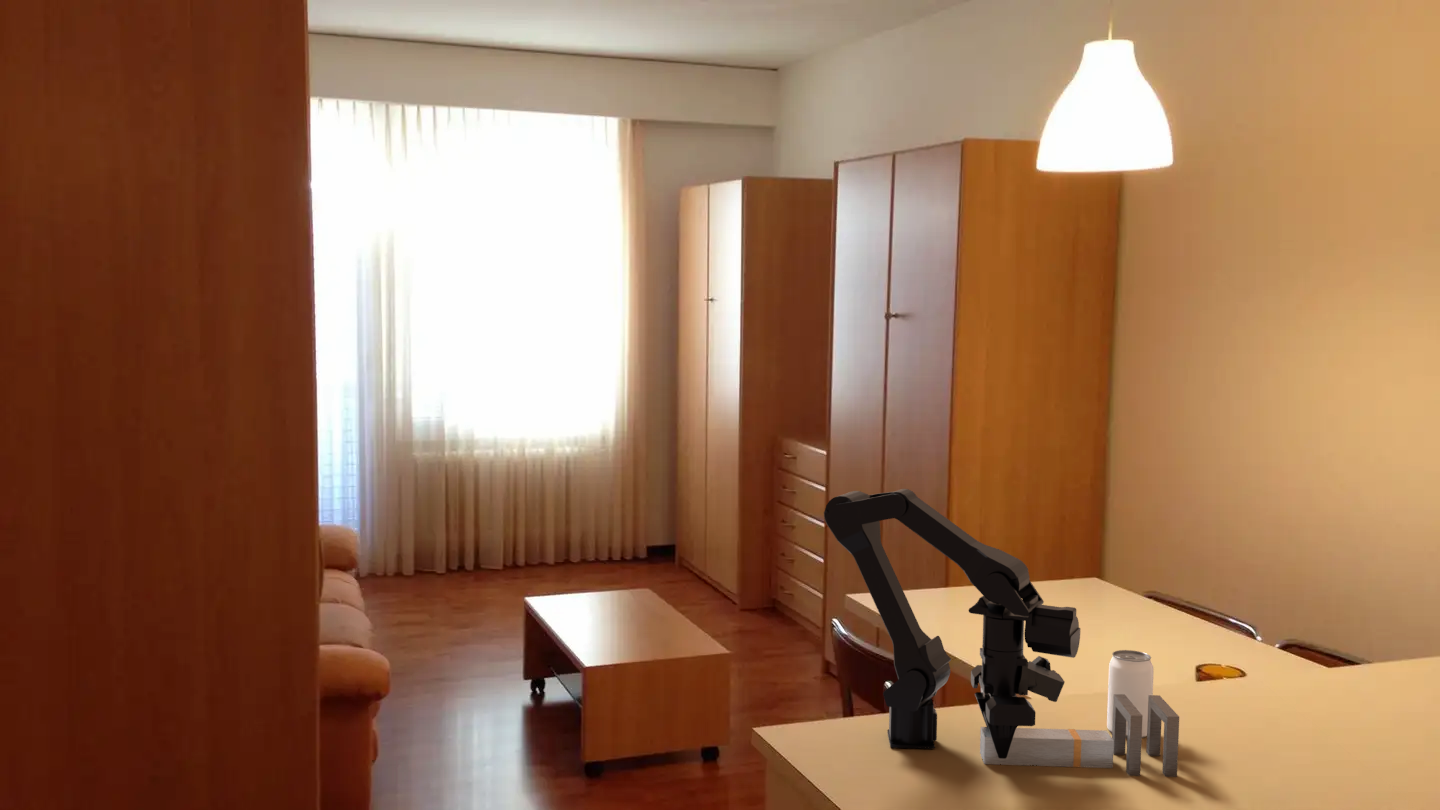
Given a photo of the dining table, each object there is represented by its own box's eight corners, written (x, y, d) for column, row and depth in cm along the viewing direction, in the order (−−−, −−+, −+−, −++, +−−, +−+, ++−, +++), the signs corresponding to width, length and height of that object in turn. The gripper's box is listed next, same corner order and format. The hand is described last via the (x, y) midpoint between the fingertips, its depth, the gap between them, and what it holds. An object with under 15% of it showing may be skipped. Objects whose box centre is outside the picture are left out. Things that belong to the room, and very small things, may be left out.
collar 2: (1165, 776, 165) (1167, 716, 164) (1146, 752, 174) (1148, 695, 173) (1176, 776, 165) (1179, 716, 164) (1157, 752, 174) (1159, 695, 173)
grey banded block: (984, 764, 169) (985, 736, 169) (979, 753, 173) (980, 726, 173) (1112, 768, 168) (1113, 740, 167) (1105, 757, 172) (1106, 730, 171)
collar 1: (1128, 775, 165) (1130, 715, 164) (1111, 751, 174) (1113, 694, 173) (1140, 775, 165) (1142, 715, 164) (1122, 751, 174) (1124, 694, 173)
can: (1154, 740, 178) (1157, 662, 177) (1109, 737, 180) (1112, 660, 179) (1147, 725, 185) (1150, 650, 184) (1104, 722, 186) (1107, 647, 185)
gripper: (1075, 668, 160) (1071, 780, 161) (1046, 629, 178) (1043, 730, 179) (991, 665, 160) (988, 777, 162) (971, 628, 179) (969, 728, 180)
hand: (999, 752), depth 171 cm, fingers closed on grey banded block, 4 cm apart
